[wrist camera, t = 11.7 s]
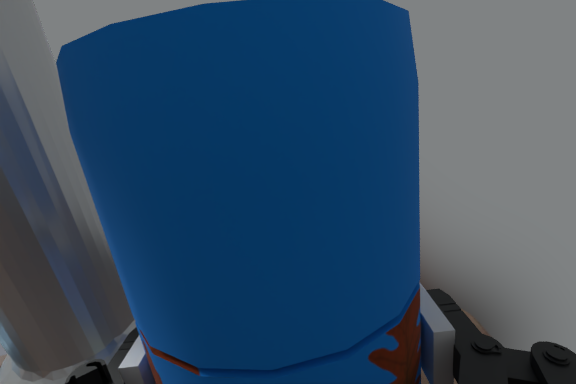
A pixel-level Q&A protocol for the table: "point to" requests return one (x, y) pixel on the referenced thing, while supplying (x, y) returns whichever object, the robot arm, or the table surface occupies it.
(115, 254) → the thermos
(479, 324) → the table surface
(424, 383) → the table surface
